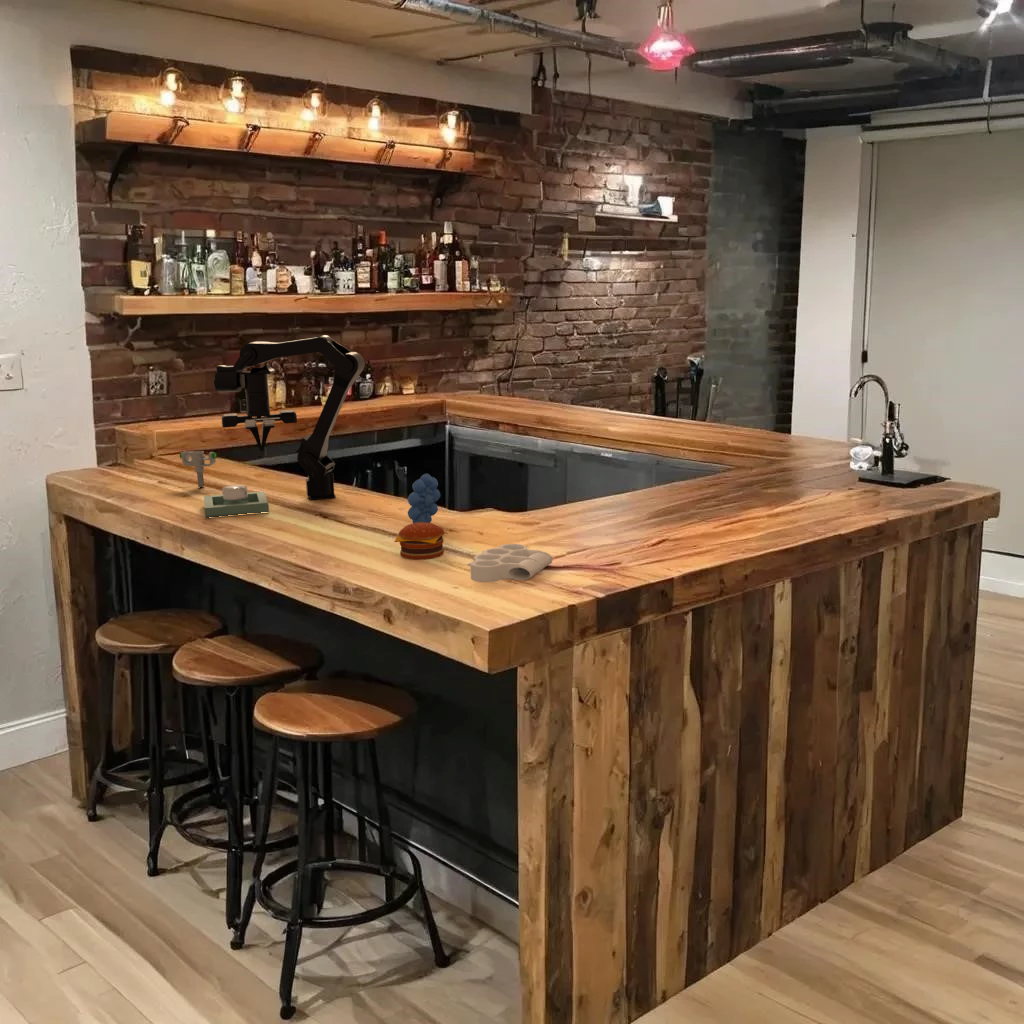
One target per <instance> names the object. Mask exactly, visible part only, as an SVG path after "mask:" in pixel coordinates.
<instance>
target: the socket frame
mask: <svg viewBox="0 0 1024 1024" xmlns="http://www.w3.org/2000/svg"><path fill="white" fill-rule="evenodd" d="M247 493H248V503H240V504H228V505H224V504H223V494H215V495H204V496H203V502H204V503H203V504H204V512H205V513H204V515H205V519H206V518H208V519H210V518H209V517H219V516H228V515H238V514H247V513H261V512H269V513H270V509H269V507H270V506H269V501H268V499H267V496H266V493H265V491H264V490H262V491H251V492H247ZM219 518H220V517H219Z"/></svg>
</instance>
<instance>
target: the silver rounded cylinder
mask: <svg viewBox="0 0 1024 1024" xmlns="http://www.w3.org/2000/svg"><path fill="white" fill-rule="evenodd" d="M221 490H222V495H223V504H224V505H228V504H240V503H248V493H249V492H248V486H247V485H244V484H234V485H233V484H232V485H226V486H223V487H222V488H221Z"/></svg>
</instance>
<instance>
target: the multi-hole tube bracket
mask: <svg viewBox="0 0 1024 1024" xmlns="http://www.w3.org/2000/svg"><path fill="white" fill-rule="evenodd" d="M553 561H554V559H553V556H552V555H551V554H550V553H548V552H547V551H542V550H539V549H529V548H528V546H527V545H525V544H520V543H505V544H504V543H503V544H500V545H499V546H498V547H493V548H488V549H485V550H483V551H481V553H478V554H475V556H474V557H473V561H471V562H469V563H467V564H466V565H467V566H468V567H470V579H471V580H472V581H475V582H478V583H493V582H498V581H502V580H516V581H527V580H530V579H531V578H532V577H533V576H534V575H536V574H538V572H540V571H542V570H543V569H545V568H546V567H547V566H549V565H551V564H552V563H553Z"/></svg>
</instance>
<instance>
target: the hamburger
mask: <svg viewBox="0 0 1024 1024" xmlns="http://www.w3.org/2000/svg"><path fill="white" fill-rule="evenodd" d="M445 534H447V535H448V534H449V533H448V532H446V531H445V530H444V529H443V528H442V527H441V526H439V525H437V524H436V523H432V522H430V523H426V522H420V523H413V522H412V523H410V524H407V525H405V526H404V527H403V528H401V530H399V532H398V535H397V537H396V538H395V540H393V542H394V543H399V545H400V551H399V554H400V557H402V558H404V559H408V560H415V561H418V560H419V561H420V560H421V561H424V560H425V561H426V560H431V559H436V558H440V557H442V556H443V555H444V553H445V548H444V541H445V538H444V537H443V536H444V535H445Z"/></svg>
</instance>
